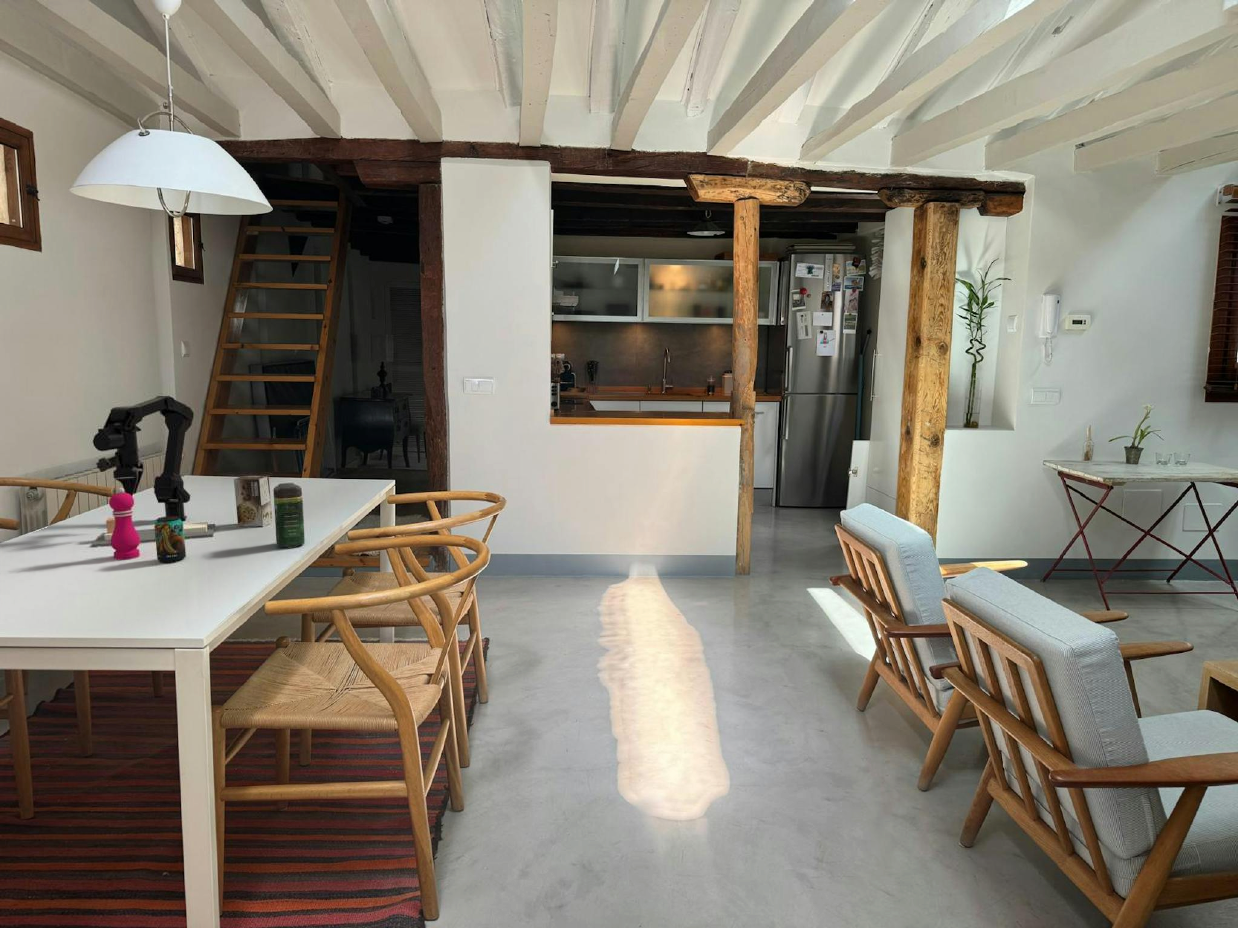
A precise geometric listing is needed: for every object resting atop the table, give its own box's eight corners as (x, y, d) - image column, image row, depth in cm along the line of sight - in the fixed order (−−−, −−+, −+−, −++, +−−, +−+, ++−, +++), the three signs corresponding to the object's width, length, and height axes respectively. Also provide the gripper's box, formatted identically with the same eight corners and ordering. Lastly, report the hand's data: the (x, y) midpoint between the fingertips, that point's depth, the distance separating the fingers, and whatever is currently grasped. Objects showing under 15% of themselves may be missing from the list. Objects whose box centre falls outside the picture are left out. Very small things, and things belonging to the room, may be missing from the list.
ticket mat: (102, 535, 253) (101, 527, 253) (215, 526, 266) (215, 518, 266) (92, 547, 239) (91, 538, 238) (212, 536, 252) (212, 528, 251)
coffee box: (273, 522, 271) (270, 475, 268) (263, 527, 265) (259, 478, 262) (247, 522, 272) (244, 475, 269) (236, 526, 265) (233, 478, 263)
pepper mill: (147, 554, 230) (141, 486, 227) (125, 561, 223) (118, 490, 220) (128, 552, 232) (122, 484, 229) (105, 559, 226) (98, 489, 223)
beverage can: (157, 564, 220) (153, 521, 218) (158, 558, 226) (154, 517, 224) (186, 561, 223) (182, 519, 221) (186, 555, 229) (182, 514, 227)
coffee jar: (306, 546, 239) (303, 485, 236) (278, 549, 235) (274, 487, 233) (303, 539, 247) (299, 480, 245) (275, 542, 244) (271, 482, 241)
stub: (109, 534, 251) (107, 517, 250) (131, 532, 253) (129, 515, 252) (104, 540, 243) (103, 522, 243) (127, 538, 246) (126, 520, 245)
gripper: (102, 445, 258) (107, 492, 260) (91, 452, 241) (96, 503, 243) (142, 443, 262) (146, 490, 265) (134, 450, 246) (139, 500, 248)
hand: (131, 495), depth 255 cm, fingers open, 9 cm apart
